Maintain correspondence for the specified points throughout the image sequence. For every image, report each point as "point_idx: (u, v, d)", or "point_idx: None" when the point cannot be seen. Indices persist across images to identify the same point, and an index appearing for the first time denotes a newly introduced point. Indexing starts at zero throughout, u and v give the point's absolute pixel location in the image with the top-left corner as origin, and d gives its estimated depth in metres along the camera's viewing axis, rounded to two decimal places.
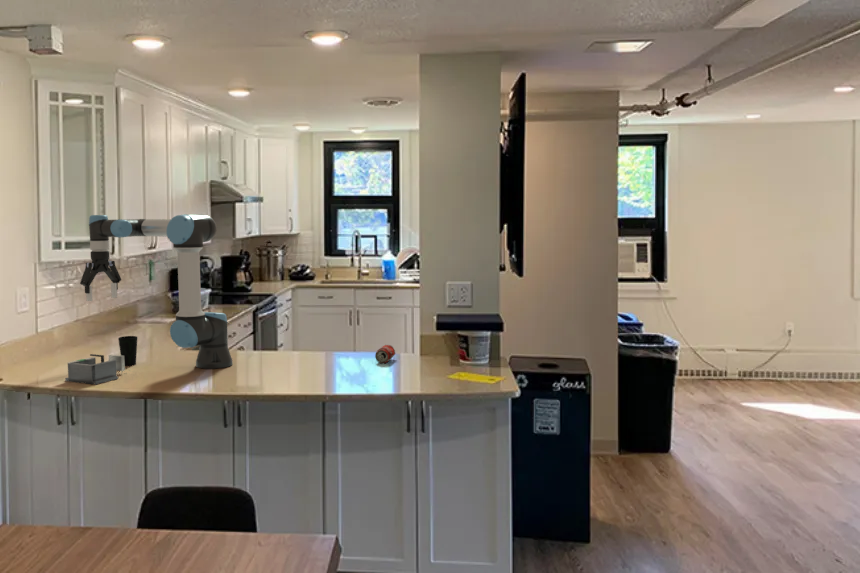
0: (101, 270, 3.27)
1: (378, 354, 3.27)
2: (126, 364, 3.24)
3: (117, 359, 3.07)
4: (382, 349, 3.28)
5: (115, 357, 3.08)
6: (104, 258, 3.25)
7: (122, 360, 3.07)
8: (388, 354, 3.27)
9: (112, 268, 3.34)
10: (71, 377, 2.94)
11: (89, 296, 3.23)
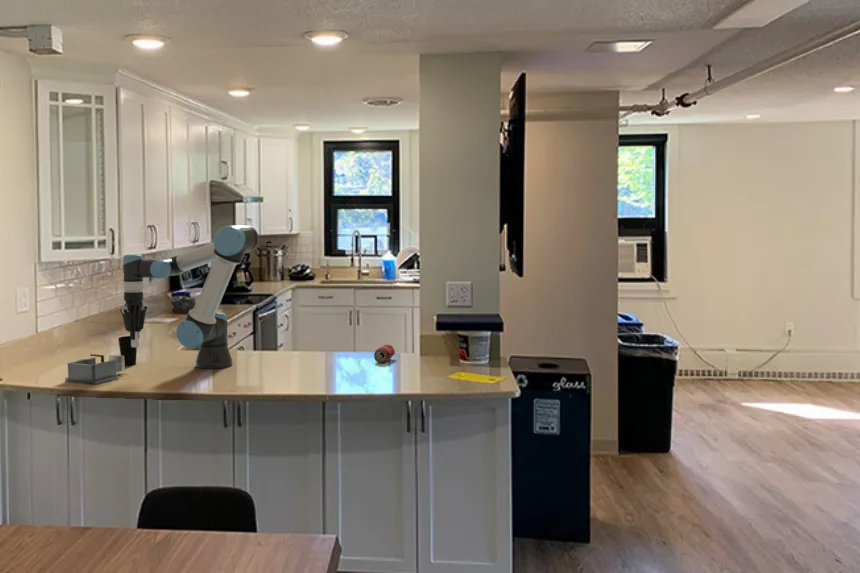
0: None
1: (377, 354, 3.28)
2: (126, 364, 3.24)
3: (117, 359, 3.07)
4: (381, 349, 3.28)
5: (115, 357, 3.08)
6: (138, 299, 3.14)
7: (122, 360, 3.07)
8: (387, 354, 3.28)
9: (141, 313, 3.20)
10: (71, 377, 2.94)
11: (134, 342, 3.17)
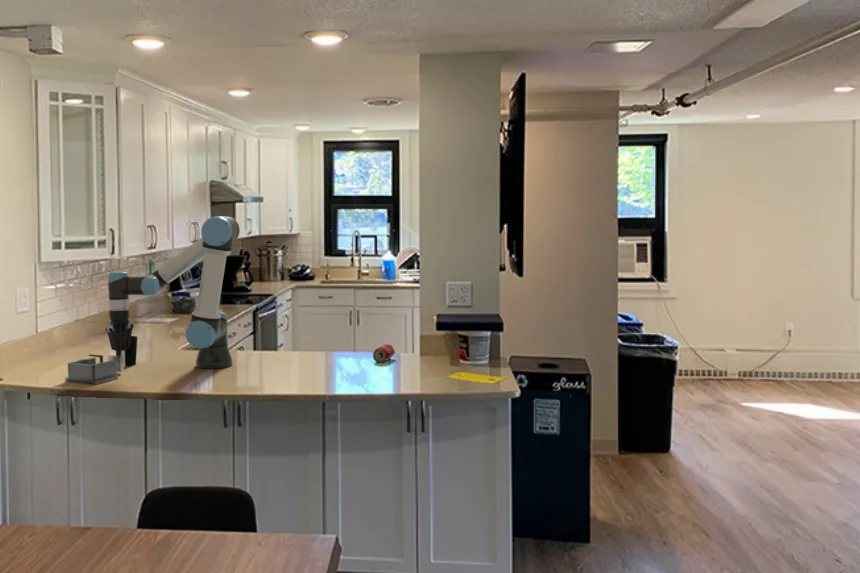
0: None
1: (375, 353, 3.29)
2: (126, 364, 3.24)
3: (116, 359, 3.07)
4: (380, 348, 3.29)
5: (114, 357, 3.07)
6: (124, 318, 3.07)
7: (121, 360, 3.06)
8: (385, 354, 3.28)
9: (127, 331, 3.13)
10: (71, 377, 2.94)
11: None
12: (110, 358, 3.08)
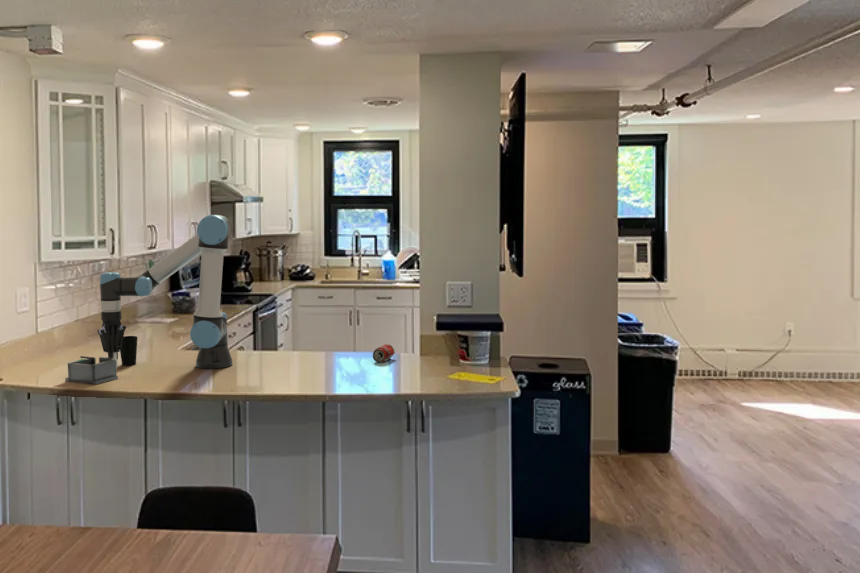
0: None
1: (375, 353, 3.29)
2: (126, 364, 3.24)
3: None
4: (379, 348, 3.29)
5: (106, 359, 3.03)
6: (116, 319, 3.03)
7: None
8: (385, 354, 3.28)
9: (120, 333, 3.10)
10: (71, 377, 2.94)
11: None
12: (102, 360, 3.04)
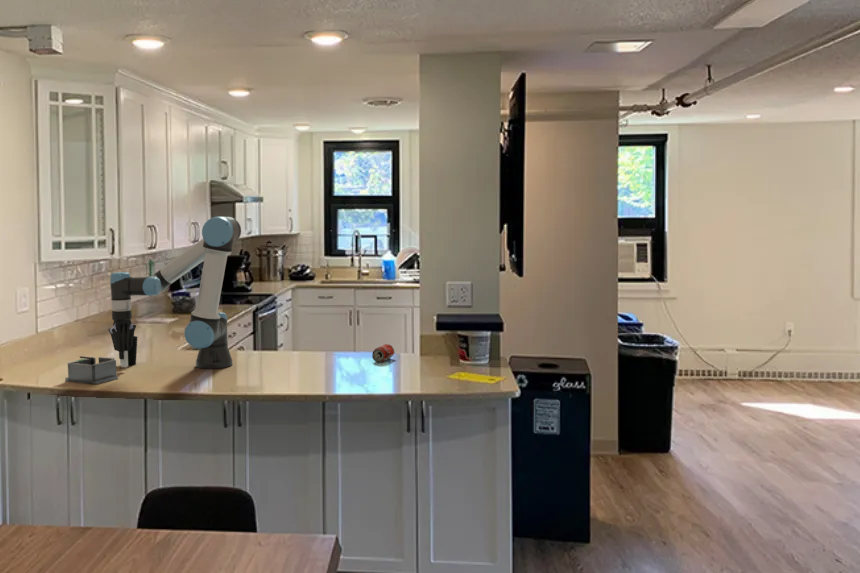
0: None
1: (374, 353, 3.29)
2: None
3: None
4: (379, 348, 3.29)
5: (105, 359, 3.03)
6: (126, 318, 3.08)
7: None
8: (384, 353, 3.29)
9: (130, 331, 3.14)
10: (71, 377, 2.94)
11: (123, 362, 3.11)
12: (101, 360, 3.04)
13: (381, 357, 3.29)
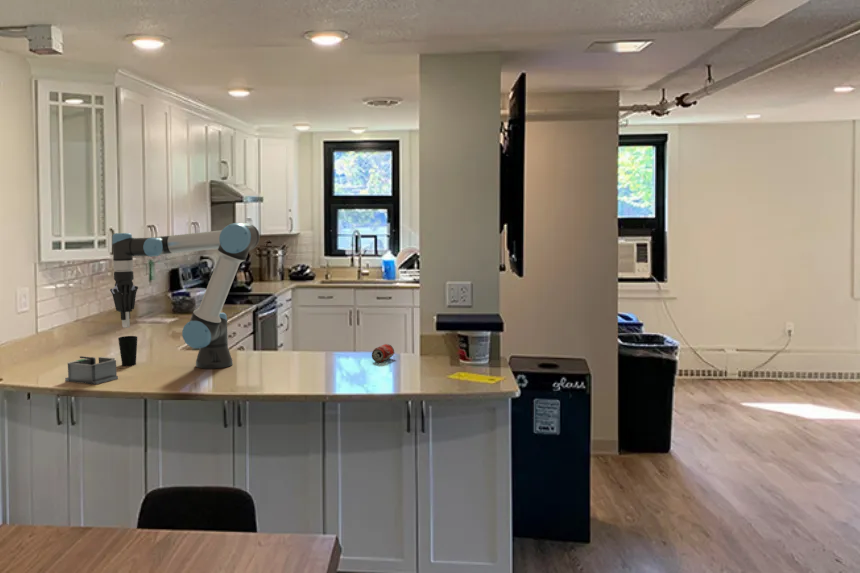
0: None
1: (374, 353, 3.30)
2: (126, 364, 3.24)
3: None
4: (378, 348, 3.30)
5: (105, 359, 3.03)
6: (128, 279, 3.08)
7: None
8: (384, 353, 3.29)
9: (132, 293, 3.15)
10: (71, 377, 2.94)
11: (125, 323, 3.11)
12: (101, 360, 3.04)
13: (380, 357, 3.29)
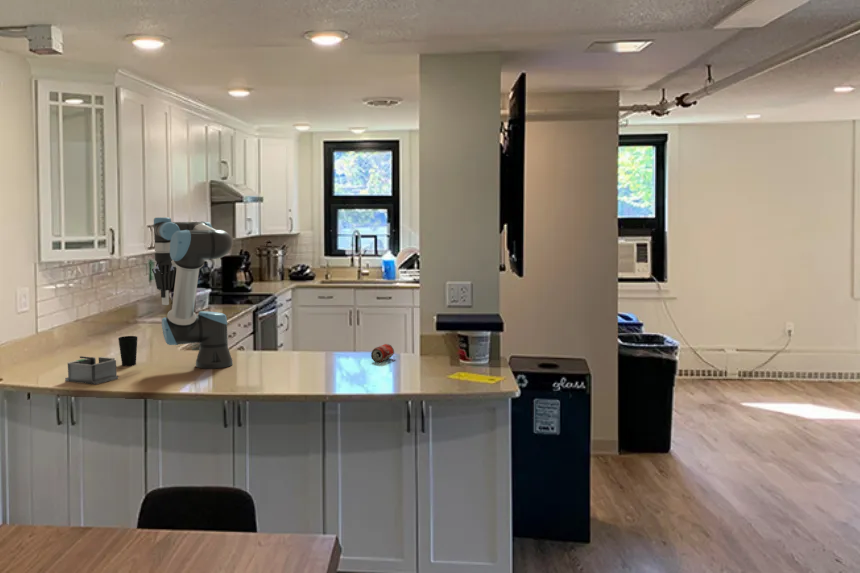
0: None
1: (373, 353, 3.30)
2: (126, 364, 3.24)
3: None
4: (377, 348, 3.30)
5: (105, 359, 3.03)
6: (168, 259, 3.34)
7: None
8: (383, 353, 3.29)
9: (171, 273, 3.41)
10: (71, 377, 2.94)
11: (165, 300, 3.37)
12: (101, 360, 3.04)
13: (380, 357, 3.29)
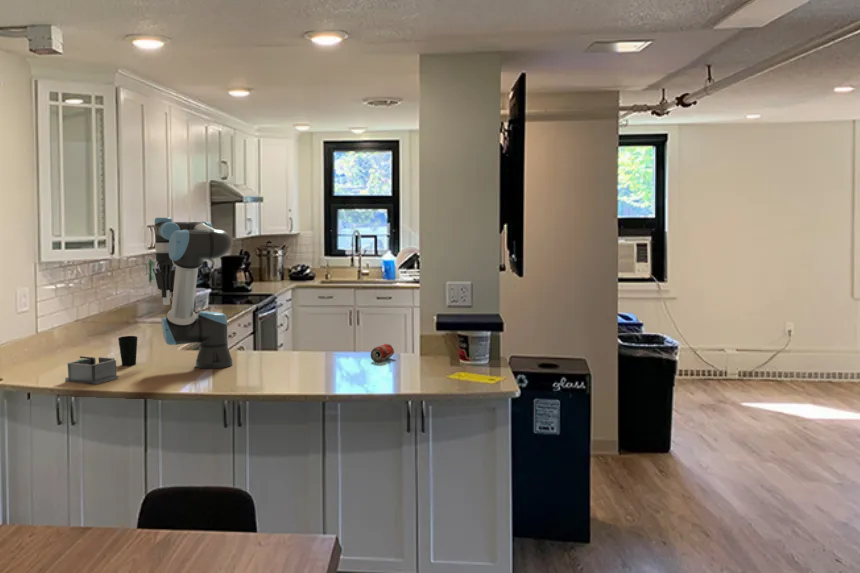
0: None
1: (373, 353, 3.31)
2: (126, 364, 3.24)
3: None
4: (377, 348, 3.30)
5: (105, 359, 3.03)
6: (169, 259, 3.35)
7: None
8: (382, 353, 3.29)
9: (172, 273, 3.41)
10: (71, 377, 2.94)
11: (166, 300, 3.38)
12: (101, 360, 3.04)
13: (379, 357, 3.30)
